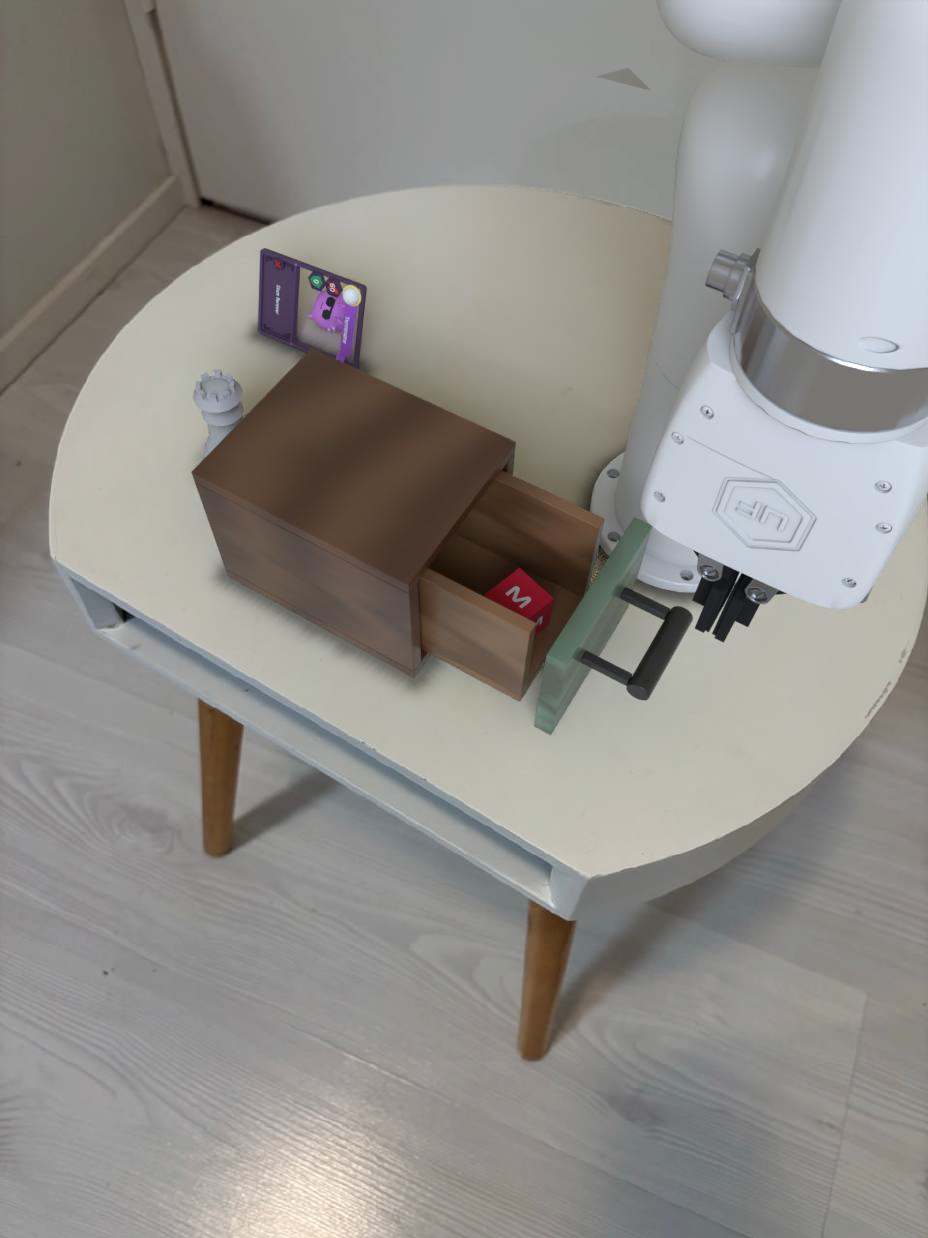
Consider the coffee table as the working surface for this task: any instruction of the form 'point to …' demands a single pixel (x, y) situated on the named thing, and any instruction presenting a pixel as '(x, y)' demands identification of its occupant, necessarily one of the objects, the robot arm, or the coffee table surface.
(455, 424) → the cabinet
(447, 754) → the coffee table surface
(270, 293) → the game card
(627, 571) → the drawer
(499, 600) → the red letter cube
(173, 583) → the coffee table surface
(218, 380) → the rook chess piece
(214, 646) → the coffee table surface
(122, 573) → the coffee table surface
